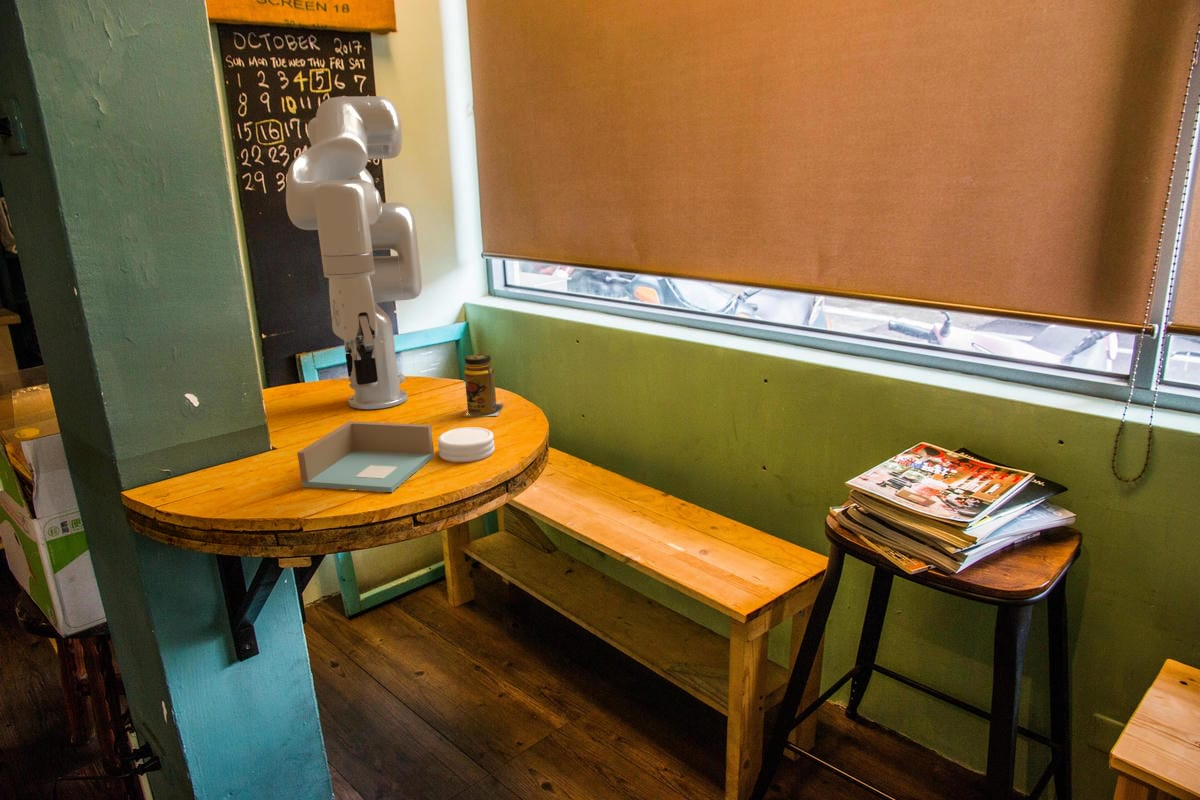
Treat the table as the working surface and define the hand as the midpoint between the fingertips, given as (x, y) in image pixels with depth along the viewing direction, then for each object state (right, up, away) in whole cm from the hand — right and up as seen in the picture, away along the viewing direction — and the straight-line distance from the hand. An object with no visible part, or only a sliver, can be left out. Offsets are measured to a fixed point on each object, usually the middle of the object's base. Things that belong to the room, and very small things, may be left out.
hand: (362, 378), depth 125 cm
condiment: (+14, -6, +39) cm, 42 cm away
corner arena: (-1, -16, +8) cm, 18 cm away
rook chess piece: (0, -2, +1) cm, 2 cm away
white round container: (+14, -13, +15) cm, 25 cm away
